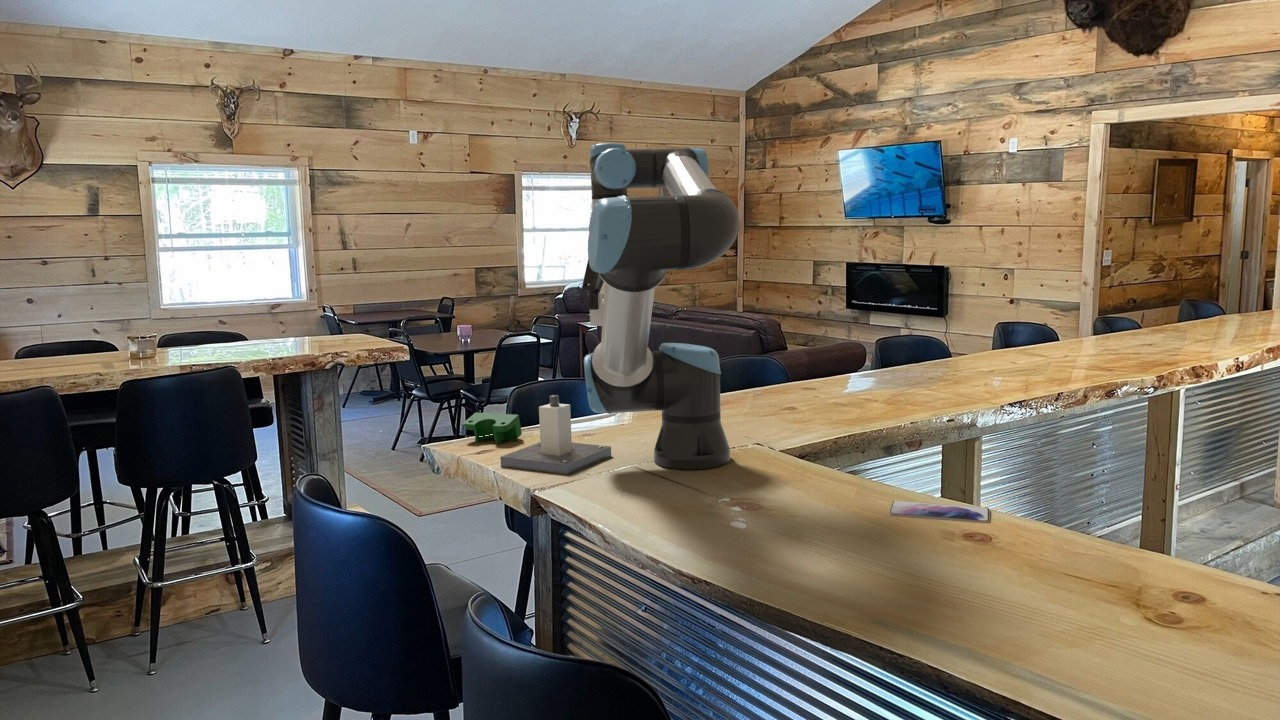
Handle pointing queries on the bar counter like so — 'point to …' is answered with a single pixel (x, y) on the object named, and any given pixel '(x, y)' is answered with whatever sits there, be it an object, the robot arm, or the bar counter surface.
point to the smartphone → (940, 511)
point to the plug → (555, 428)
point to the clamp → (494, 426)
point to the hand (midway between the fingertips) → (613, 322)
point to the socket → (556, 458)
